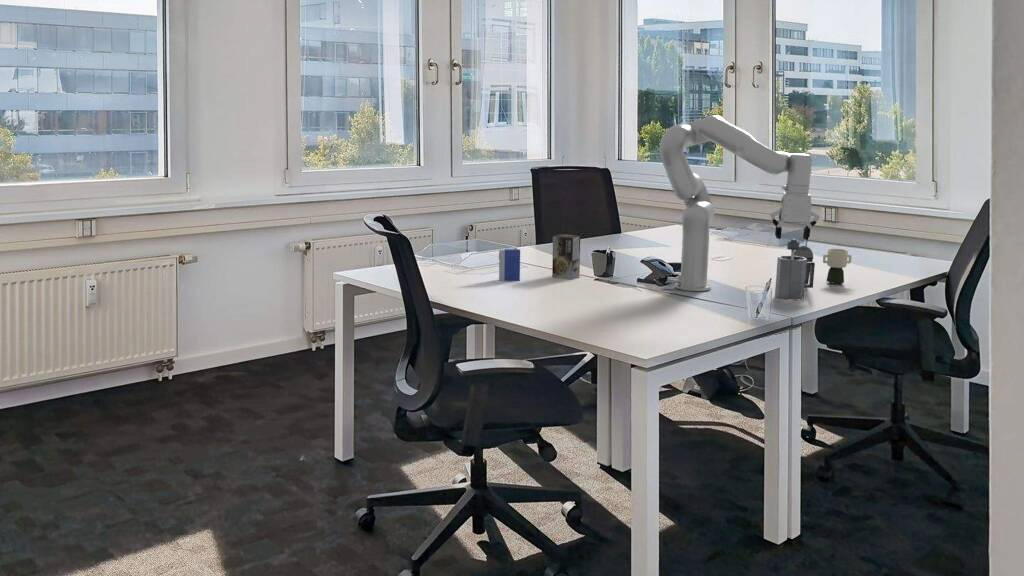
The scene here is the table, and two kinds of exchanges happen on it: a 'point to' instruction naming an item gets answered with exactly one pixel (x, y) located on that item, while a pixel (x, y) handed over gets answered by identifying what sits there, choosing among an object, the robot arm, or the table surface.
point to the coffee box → (566, 256)
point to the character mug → (836, 264)
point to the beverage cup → (807, 254)
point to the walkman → (509, 264)
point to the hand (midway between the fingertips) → (791, 238)
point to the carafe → (792, 277)
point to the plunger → (793, 247)
